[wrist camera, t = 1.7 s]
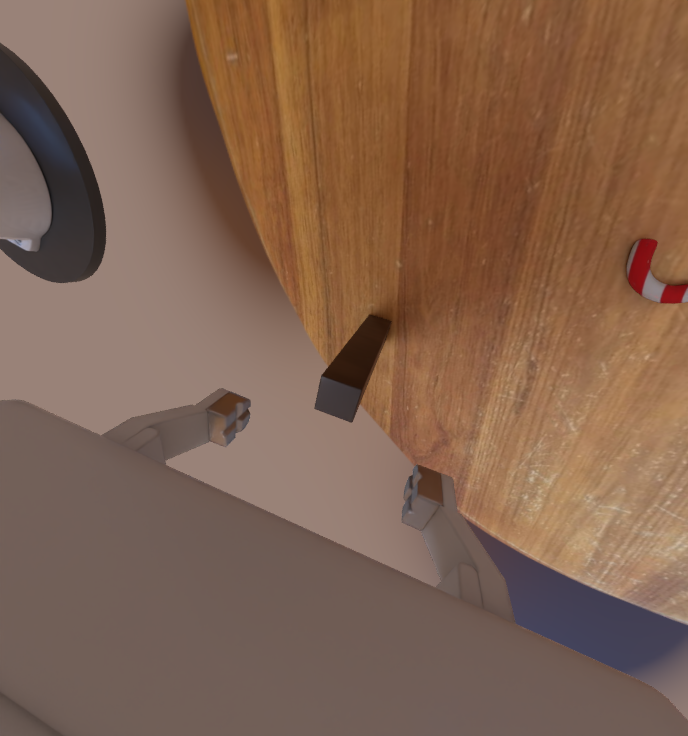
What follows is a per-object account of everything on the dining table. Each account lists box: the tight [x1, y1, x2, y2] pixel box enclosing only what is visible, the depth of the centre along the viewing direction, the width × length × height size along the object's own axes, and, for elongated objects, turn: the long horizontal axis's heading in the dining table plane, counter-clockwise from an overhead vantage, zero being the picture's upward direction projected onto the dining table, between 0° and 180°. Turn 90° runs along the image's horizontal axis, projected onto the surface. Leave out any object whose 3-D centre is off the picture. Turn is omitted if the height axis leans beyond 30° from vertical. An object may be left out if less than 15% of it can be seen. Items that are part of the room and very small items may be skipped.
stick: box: [315, 315, 392, 422], centre depth 20 cm, size 2×2×14 cm
